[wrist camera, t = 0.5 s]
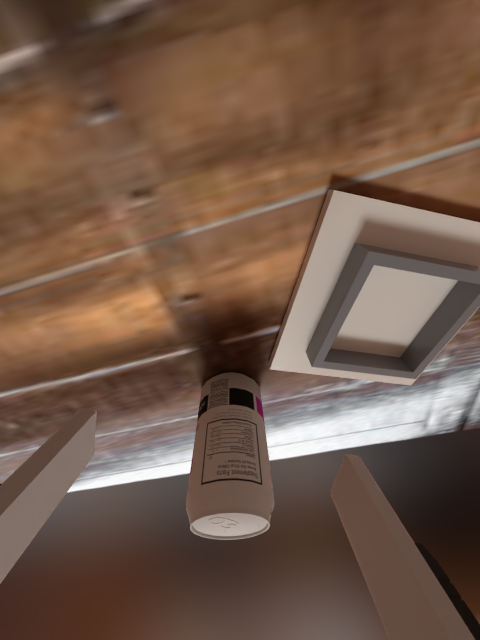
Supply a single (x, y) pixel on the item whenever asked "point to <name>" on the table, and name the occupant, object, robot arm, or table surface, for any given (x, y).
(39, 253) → the table surface
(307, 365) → the socket board
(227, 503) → the supplement can
